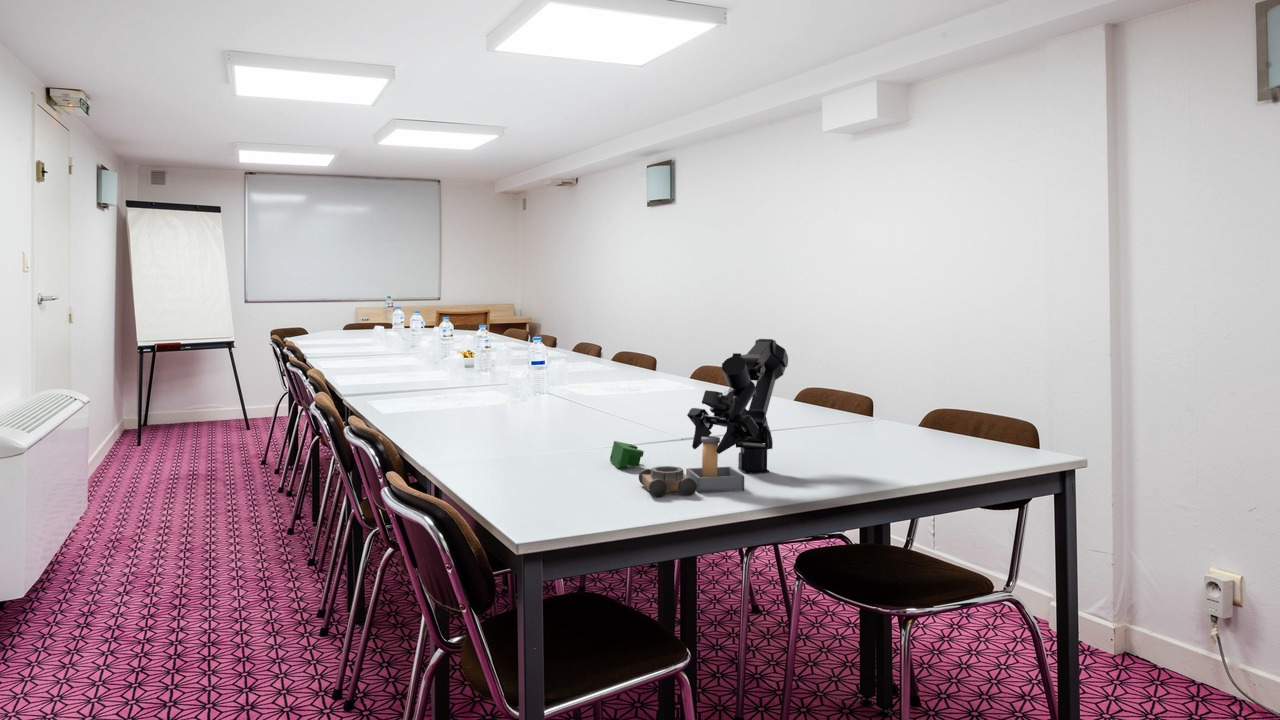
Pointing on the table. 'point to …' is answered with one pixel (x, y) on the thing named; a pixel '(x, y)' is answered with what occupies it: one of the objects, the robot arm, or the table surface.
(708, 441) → the pin
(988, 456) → the table surface
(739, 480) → the tray
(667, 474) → the trolley
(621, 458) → the green block
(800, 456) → the table surface
